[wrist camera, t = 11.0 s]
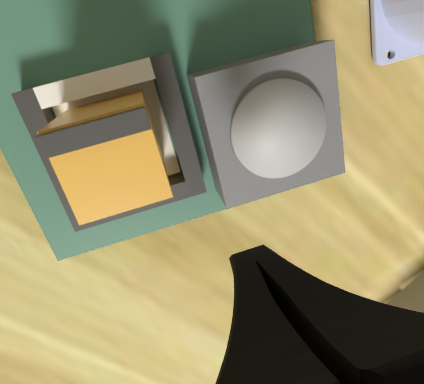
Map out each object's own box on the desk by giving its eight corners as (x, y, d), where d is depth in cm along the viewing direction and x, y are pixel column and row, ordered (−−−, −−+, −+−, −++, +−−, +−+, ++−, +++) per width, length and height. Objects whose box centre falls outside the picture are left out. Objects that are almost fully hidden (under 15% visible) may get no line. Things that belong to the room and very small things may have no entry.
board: (288, -119, 17) (334, -172, 13) (321, 172, 24) (359, 196, 20) (-83, -37, 16) (-160, -69, 12) (61, 252, 22) (44, 296, 18)
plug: (142, 89, 18) (143, 104, 12) (163, 158, 20) (174, 202, 14) (67, 109, 18) (32, 135, 12) (95, 178, 20) (76, 232, 14)
